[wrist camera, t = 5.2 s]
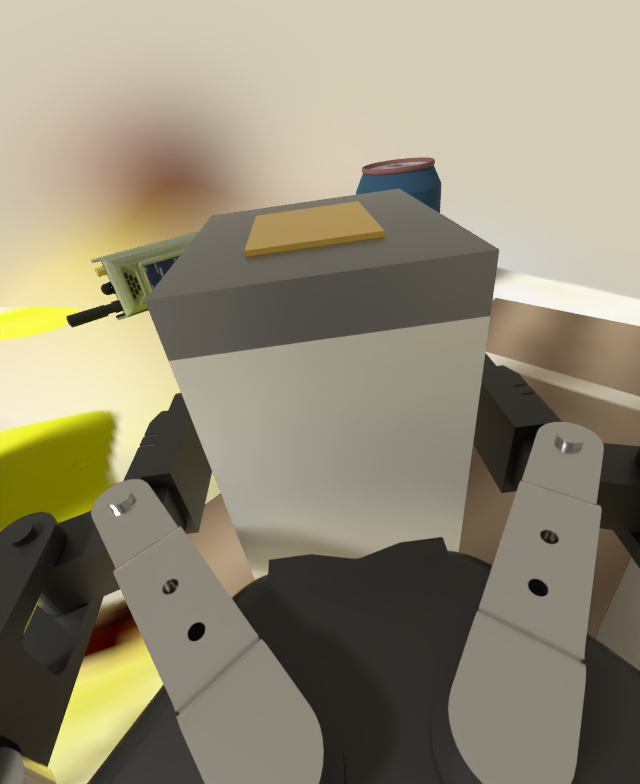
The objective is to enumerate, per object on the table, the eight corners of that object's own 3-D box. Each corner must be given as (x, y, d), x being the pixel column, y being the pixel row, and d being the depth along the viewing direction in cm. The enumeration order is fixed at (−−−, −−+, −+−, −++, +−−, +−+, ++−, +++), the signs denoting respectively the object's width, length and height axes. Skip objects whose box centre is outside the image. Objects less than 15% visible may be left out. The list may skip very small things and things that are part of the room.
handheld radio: (274, 270, 53) (76, 337, 42) (262, 266, 56) (71, 329, 45) (263, 217, 50) (43, 275, 39) (250, 215, 52) (40, 270, 41)
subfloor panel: (167, 569, 18) (149, 540, 17) (492, 320, 33) (496, 296, 32) (441, 962, 9) (448, 964, 8) (712, 372, 24) (728, 341, 23)
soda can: (349, 304, 40) (338, 169, 33) (403, 284, 42) (402, 156, 36) (393, 325, 35) (390, 172, 28) (451, 302, 37) (462, 156, 30)
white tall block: (287, 662, 12) (141, 292, 6) (287, 508, 17) (210, 211, 10) (446, 642, 12) (500, 242, 5) (401, 493, 17) (398, 184, 10)
